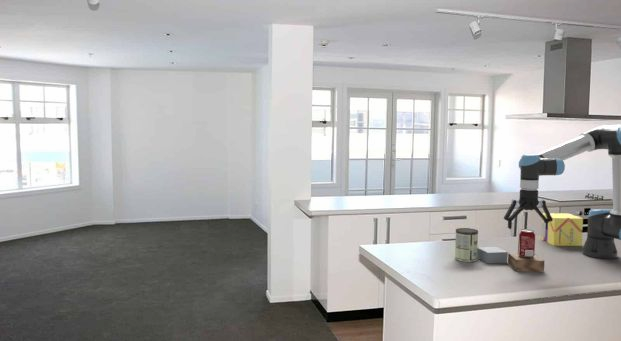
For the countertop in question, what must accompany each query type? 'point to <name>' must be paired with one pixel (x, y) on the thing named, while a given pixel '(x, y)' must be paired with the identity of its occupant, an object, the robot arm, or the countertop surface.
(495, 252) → the slate-grey block
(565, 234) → the toy block
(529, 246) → the soda can
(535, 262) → the walnut block
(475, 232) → the coffee can
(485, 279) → the countertop surface
